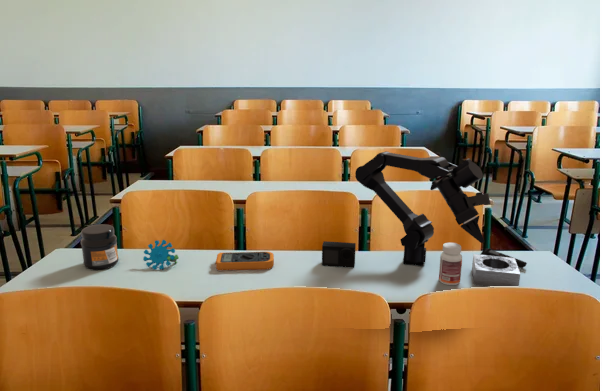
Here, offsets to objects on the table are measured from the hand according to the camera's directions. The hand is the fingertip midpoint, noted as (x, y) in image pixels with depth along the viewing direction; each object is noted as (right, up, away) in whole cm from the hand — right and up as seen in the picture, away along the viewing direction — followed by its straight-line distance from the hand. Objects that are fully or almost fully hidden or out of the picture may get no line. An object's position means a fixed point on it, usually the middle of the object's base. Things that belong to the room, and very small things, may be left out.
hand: (482, 241), depth 149 cm
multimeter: (-70, -9, +15) cm, 72 cm away
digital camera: (-41, -9, +15) cm, 44 cm away
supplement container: (-116, -9, +15) cm, 118 cm away
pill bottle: (-9, -12, +3) cm, 15 cm away
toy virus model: (-97, -9, +14) cm, 98 cm away
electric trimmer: (+13, -8, +18) cm, 24 cm away
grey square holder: (+5, -12, +5) cm, 14 cm away
